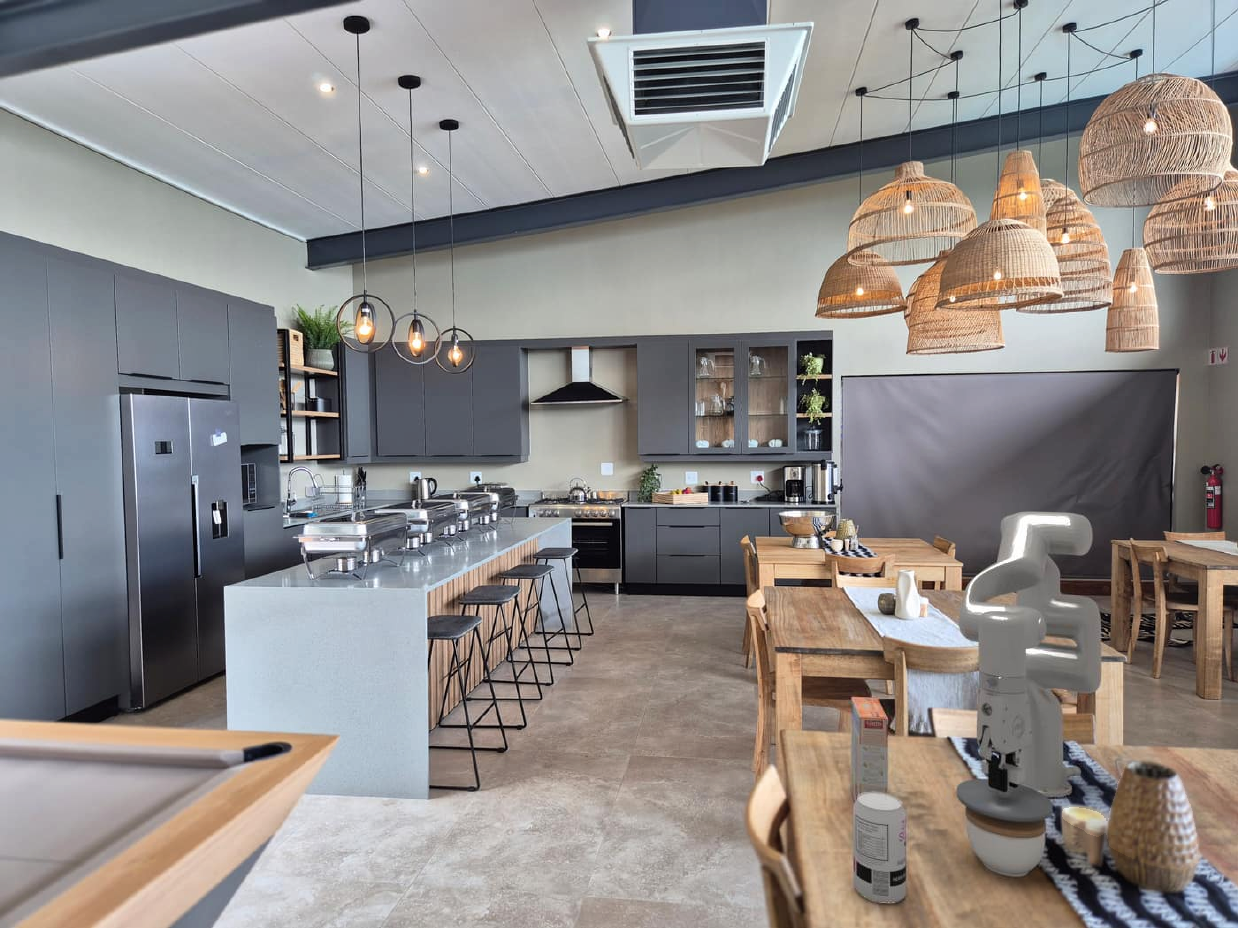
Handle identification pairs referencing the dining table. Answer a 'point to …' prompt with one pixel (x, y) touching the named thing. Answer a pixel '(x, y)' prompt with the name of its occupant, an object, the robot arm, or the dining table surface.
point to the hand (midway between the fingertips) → (1003, 786)
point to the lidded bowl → (1006, 843)
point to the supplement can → (879, 847)
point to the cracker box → (868, 747)
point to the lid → (1005, 798)
